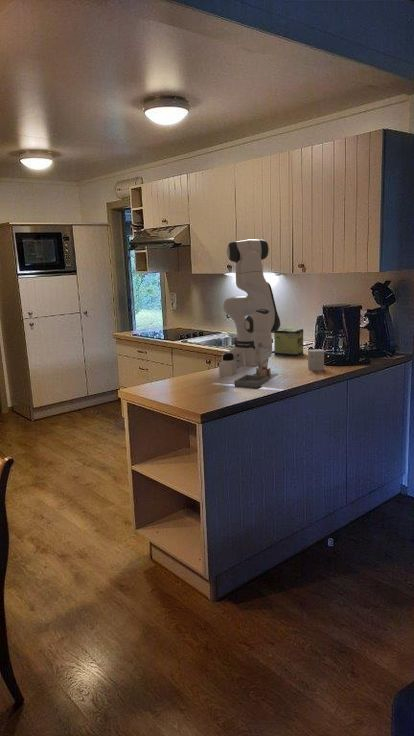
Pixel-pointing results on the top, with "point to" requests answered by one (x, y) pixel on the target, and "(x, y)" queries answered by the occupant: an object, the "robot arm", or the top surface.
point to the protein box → (288, 342)
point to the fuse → (264, 371)
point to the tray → (251, 381)
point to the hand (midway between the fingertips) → (263, 368)
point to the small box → (316, 359)
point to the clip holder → (267, 373)
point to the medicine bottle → (227, 365)
